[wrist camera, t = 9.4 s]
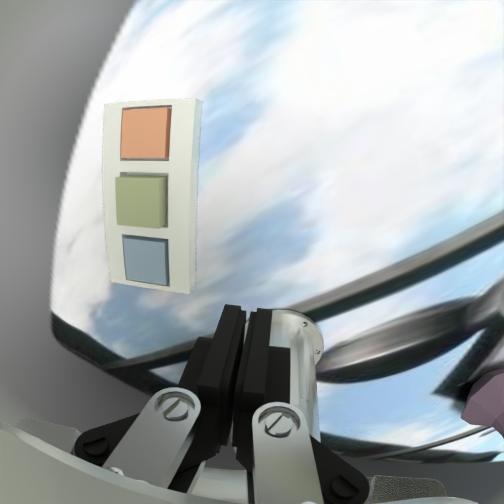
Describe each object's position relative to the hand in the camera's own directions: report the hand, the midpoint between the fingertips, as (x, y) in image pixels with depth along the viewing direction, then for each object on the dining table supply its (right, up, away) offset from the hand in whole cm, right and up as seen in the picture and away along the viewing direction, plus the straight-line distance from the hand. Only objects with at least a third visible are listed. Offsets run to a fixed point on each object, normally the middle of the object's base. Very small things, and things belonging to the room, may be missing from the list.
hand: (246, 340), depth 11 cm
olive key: (-13, +10, +24) cm, 29 cm away
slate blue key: (-13, +3, +28) cm, 31 cm away
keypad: (-13, +11, +27) cm, 31 cm away
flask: (+50, -25, +34) cm, 65 cm away
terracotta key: (-12, +18, +23) cm, 31 cm away
